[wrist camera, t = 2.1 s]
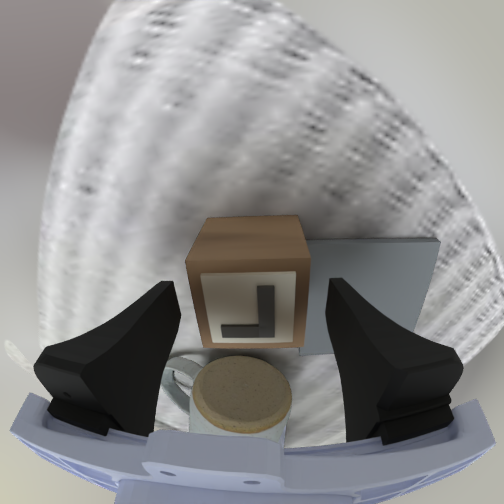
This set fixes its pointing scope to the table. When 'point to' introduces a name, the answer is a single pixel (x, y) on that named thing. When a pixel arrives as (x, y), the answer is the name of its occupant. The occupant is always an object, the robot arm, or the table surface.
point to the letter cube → (250, 282)
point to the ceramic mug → (231, 396)
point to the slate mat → (369, 280)
